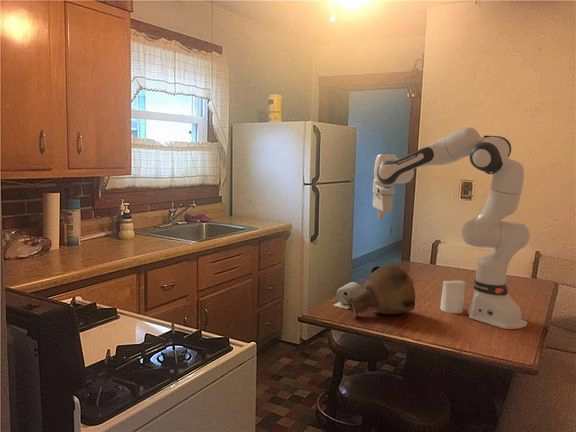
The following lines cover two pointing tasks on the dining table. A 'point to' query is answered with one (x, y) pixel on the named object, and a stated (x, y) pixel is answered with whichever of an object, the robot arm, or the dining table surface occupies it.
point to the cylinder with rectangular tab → (453, 296)
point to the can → (349, 292)
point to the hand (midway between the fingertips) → (380, 219)
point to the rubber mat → (342, 305)
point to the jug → (385, 292)
